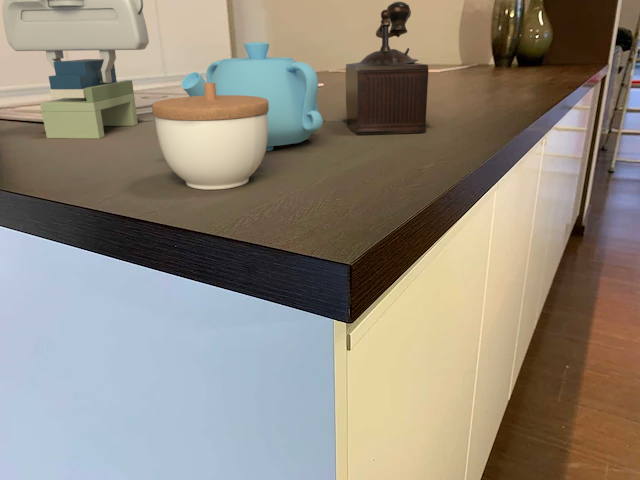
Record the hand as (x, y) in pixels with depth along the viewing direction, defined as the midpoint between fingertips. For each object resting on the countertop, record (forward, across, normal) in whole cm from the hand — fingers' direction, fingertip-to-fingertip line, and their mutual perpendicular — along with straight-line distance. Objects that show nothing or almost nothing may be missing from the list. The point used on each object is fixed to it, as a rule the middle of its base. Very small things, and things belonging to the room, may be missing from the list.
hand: (85, 83), depth 81 cm
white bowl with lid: (+7, -28, +29) cm, 41 cm away
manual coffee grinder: (+7, -44, -6) cm, 45 cm away
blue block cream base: (+2, 0, 0) cm, 2 cm away
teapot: (+7, -27, +11) cm, 30 cm away
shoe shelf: (+7, 0, 0) cm, 7 cm away
